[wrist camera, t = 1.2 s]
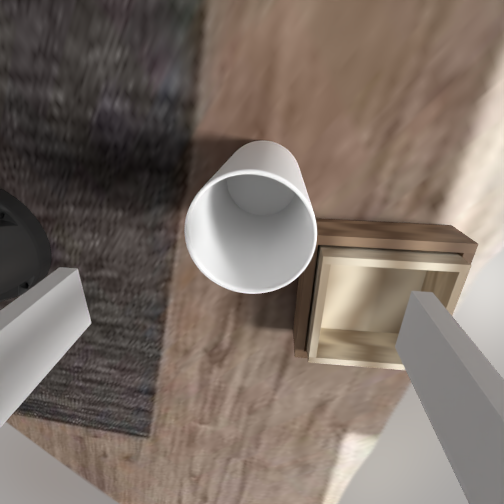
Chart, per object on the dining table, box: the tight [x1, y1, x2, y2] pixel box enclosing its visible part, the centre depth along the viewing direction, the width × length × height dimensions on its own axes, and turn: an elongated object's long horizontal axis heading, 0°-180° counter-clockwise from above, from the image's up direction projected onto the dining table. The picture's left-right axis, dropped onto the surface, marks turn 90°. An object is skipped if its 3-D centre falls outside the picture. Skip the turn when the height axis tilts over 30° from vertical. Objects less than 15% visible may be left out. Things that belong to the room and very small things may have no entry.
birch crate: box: [306, 245, 471, 370], centre depth 34 cm, size 13×13×6 cm
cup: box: [185, 140, 317, 294], centre depth 26 cm, size 8×8×16 cm
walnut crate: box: [293, 219, 478, 358], centre depth 35 cm, size 16×16×5 cm
